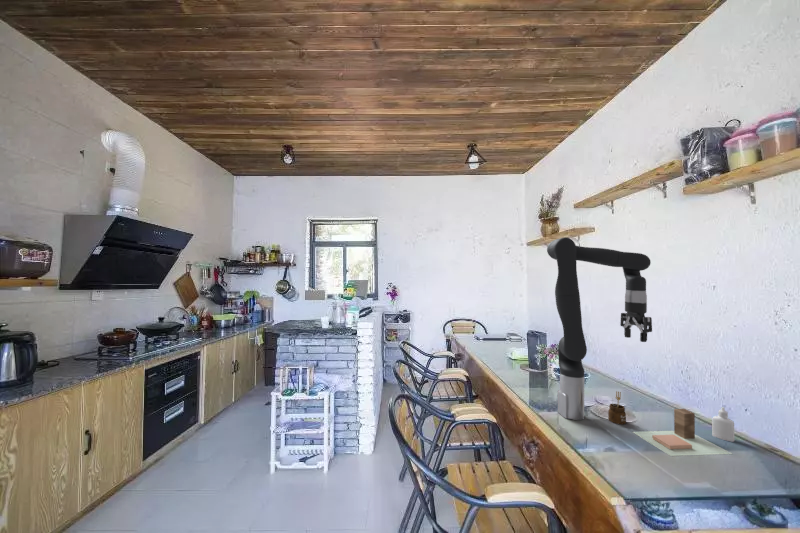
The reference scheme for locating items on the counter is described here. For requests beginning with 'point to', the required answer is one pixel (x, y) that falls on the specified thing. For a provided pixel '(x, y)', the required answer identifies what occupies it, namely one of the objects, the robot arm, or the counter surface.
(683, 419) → the block
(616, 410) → the utensil holder
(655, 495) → the counter surface
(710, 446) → the mat
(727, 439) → the eye dropper bottle
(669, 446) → the tile
